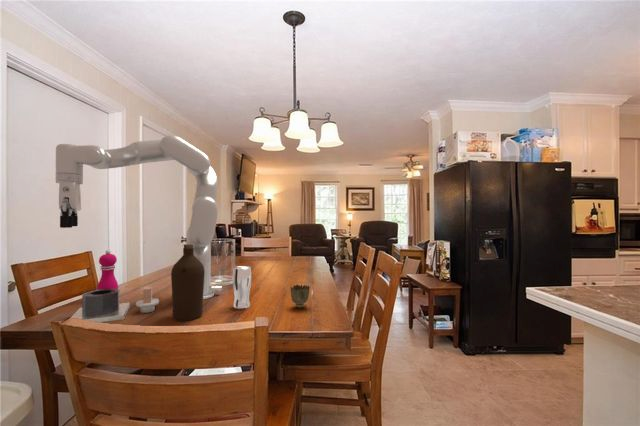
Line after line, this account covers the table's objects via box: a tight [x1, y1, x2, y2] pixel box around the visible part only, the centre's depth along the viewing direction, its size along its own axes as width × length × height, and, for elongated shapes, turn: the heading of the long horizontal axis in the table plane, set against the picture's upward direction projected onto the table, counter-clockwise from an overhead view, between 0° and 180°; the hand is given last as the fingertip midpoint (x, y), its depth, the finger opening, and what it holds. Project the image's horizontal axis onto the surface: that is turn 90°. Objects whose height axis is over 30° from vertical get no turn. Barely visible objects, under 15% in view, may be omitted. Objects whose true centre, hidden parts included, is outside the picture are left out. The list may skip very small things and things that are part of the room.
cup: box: [289, 284, 311, 309], centre depth 114 cm, size 8×7×8 cm
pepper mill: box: [96, 249, 119, 290], centre depth 123 cm, size 7×7×20 cm
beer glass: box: [232, 265, 252, 310], centre depth 114 cm, size 7×7×15 cm
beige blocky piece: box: [135, 285, 160, 314], centre depth 108 cm, size 7×7×8 cm
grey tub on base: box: [70, 288, 131, 323], centre depth 103 cm, size 15×15×8 cm
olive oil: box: [170, 243, 205, 322], centre depth 103 cm, size 11×11×25 cm
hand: (69, 226), depth 107 cm, fingers open, 9 cm apart
